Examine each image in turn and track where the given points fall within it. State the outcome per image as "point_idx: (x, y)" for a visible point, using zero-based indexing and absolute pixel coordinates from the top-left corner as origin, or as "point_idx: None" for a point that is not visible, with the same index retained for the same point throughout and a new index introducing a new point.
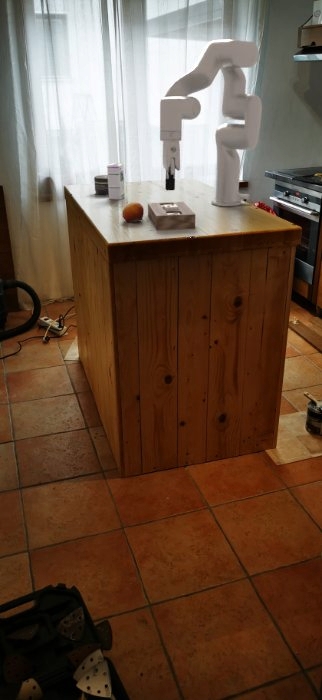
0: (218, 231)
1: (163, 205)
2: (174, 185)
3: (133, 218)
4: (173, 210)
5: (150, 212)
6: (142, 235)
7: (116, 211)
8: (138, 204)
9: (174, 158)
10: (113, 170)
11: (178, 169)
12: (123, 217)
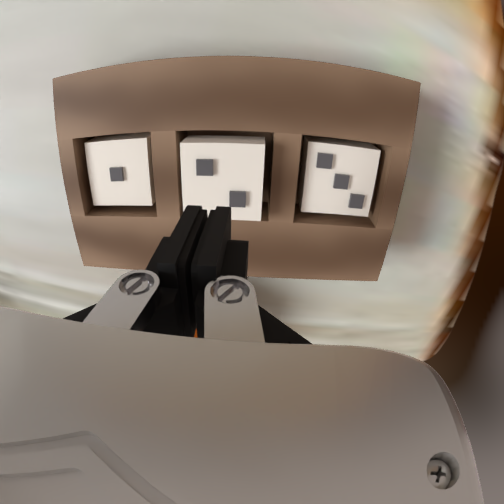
0: (454, 15)
1: (99, 192)
2: (227, 228)
3: None
4: (286, 172)
5: None
6: (403, 297)
7: (58, 313)
8: (195, 334)
9: None
10: None
11: (306, 357)
12: None
